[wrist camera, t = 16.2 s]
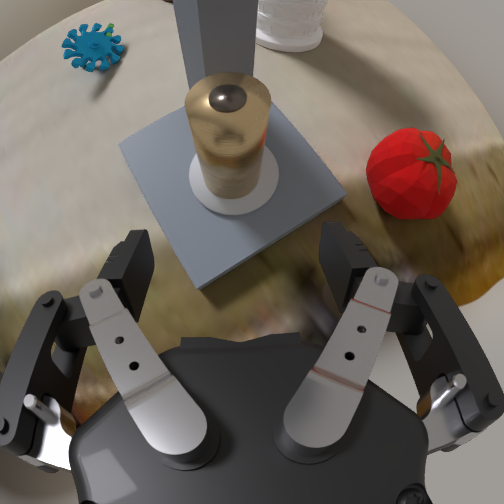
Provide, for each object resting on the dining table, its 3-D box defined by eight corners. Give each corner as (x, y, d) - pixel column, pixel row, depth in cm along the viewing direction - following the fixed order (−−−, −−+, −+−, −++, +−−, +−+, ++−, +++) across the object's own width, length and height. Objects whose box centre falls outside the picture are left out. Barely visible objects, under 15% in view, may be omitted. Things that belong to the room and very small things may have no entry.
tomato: (340, 194, 27) (375, 154, 19) (378, 135, 29) (410, 93, 21) (408, 248, 26) (459, 229, 18) (436, 183, 28) (478, 153, 20)
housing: (221, 209, 24) (210, 145, 14) (193, 166, 24) (170, 91, 14) (270, 181, 24) (288, 107, 14) (240, 141, 25) (241, 60, 15)
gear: (103, 77, 27) (50, 46, 21) (89, 99, 31) (41, 71, 25) (139, 37, 31) (95, 9, 24) (122, 58, 35) (81, 32, 28)
